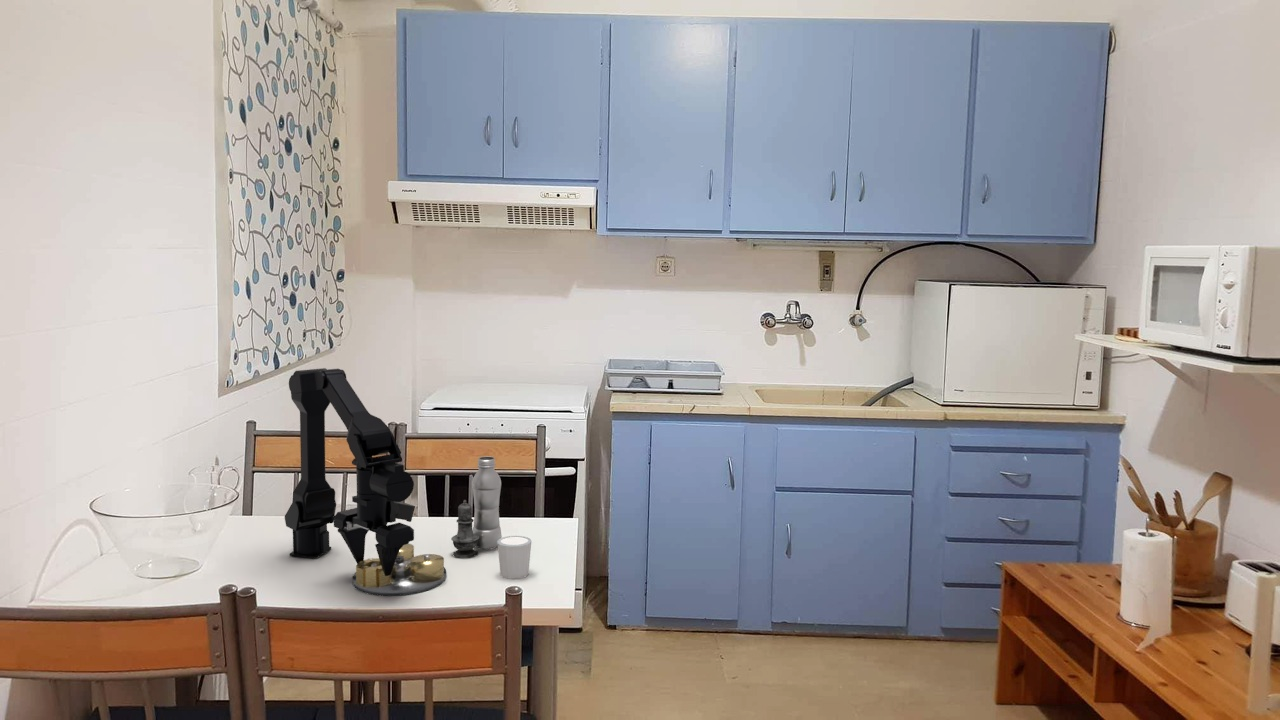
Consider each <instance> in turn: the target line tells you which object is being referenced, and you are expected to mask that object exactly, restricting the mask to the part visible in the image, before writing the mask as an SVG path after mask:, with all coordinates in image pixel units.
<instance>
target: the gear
mask: <svg viewBox="0 0 1280 720" xmlns="http://www.w3.org/2000/svg"><path fill="white" fill-rule="evenodd" d="M372 564H376V565H377V567H371V565H372ZM355 572H356V584H357V585H359V586H361V587H365V586H366V588H373V587H377V586H379V587H381V586H384V585H388V584H389V583H391V581H392V572H391V575H389V576H385V575H384V572H383V569H382V566H381V563H380V559H379V557H378V558H373V557H372V558H368V559H364V560H363V561H360V562H358V564H357V563H356V565H355Z"/></svg>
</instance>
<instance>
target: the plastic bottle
mask: <svg viewBox="0 0 1280 720" xmlns="http://www.w3.org/2000/svg"><path fill="white" fill-rule="evenodd" d="M495 460H496V458H495V456H494V457H493V456H489V455H488V456H487V455H486V456H480V457H478V458H477V468H478V470H477V471H476V473H475V474H474V476H473V478H472V480H471V487H472V488H471V489H472V495H473V504H474V505H473V506H474V513H473V514H474V517H473V520H474V521H473V526H472V530H473V534H475V535H478V536H479V539H478V543H477V545H476V547H475V548H476V549H478V550H491V549H492V550H493V549H496V548H498V543H497V541H498V540H499V539H500V538H503V537H502V529H501V525H500V524H501V523H500V512H499V511H500V507H499V506H500V496H501V489H502V480H501V477H500V476H499V473H498V472H497V471H496V470H495V467H496V461H495Z"/></svg>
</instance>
